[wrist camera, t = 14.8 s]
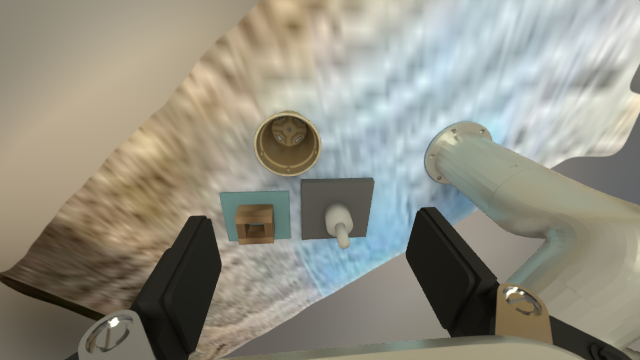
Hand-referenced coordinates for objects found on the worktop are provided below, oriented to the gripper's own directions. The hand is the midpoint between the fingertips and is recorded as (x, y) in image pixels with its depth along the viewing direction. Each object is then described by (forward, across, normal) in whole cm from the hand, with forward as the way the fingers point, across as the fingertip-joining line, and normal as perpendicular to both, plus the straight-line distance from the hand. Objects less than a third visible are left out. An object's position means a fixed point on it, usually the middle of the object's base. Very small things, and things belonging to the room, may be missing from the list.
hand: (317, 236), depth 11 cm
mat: (+32, +9, +23) cm, 41 cm away
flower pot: (+32, +2, +5) cm, 33 cm away
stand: (+32, -7, +22) cm, 40 cm away
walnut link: (+32, +9, +23) cm, 41 cm away
